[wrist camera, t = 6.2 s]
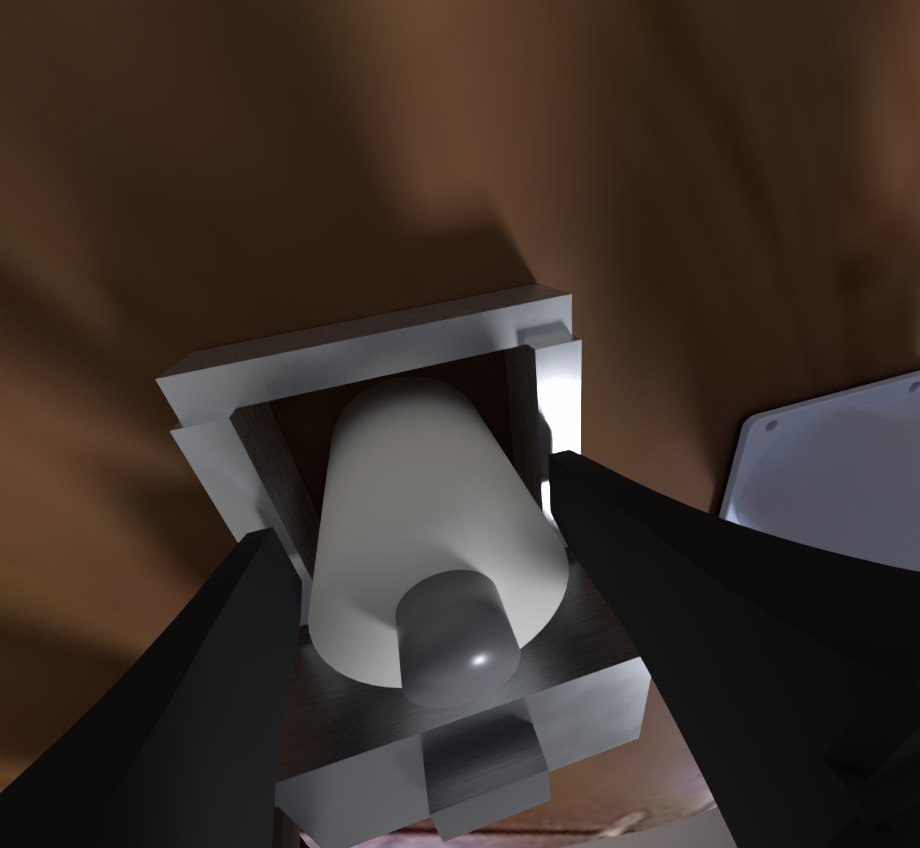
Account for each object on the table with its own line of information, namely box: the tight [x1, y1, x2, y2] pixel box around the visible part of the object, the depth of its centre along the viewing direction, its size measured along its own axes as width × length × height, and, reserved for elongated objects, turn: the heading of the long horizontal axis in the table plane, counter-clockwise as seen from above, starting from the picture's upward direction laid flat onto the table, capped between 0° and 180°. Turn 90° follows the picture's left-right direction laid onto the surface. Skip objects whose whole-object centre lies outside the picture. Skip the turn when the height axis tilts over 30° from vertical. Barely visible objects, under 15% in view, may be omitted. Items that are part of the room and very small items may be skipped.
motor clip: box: [155, 283, 651, 848], centre depth 11 cm, size 12×14×7 cm
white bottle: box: [308, 376, 569, 708], centre depth 9 cm, size 5×5×7 cm
